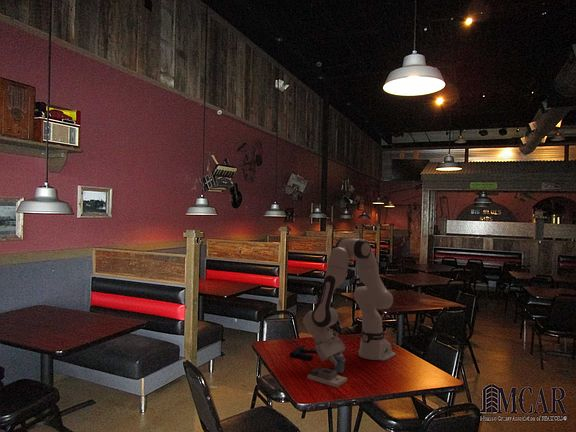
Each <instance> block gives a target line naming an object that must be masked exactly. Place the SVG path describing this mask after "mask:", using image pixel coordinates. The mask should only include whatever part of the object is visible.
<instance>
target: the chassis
mask: <svg viewBox="0 0 576 432" xmlns="http://www.w3.org/2000/svg"><path fill="white" fill-rule="evenodd" d="M306 378H307V380H311V381H314V382H317V383H321V384H324V385H328V386H330V387H334V388H338V387H341V386H342V385H343V384H344V383H347V382H348V377H345V376H342V375H339V374H338V372H337V371H334V369H329V368H326V367H324V368H321V367H315V368H313V369H310V373H309V374H307V377H306Z"/></svg>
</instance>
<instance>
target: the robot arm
mask: <svg viewBox="0 0 576 432" xmlns="http://www.w3.org/2000/svg"><path fill="white" fill-rule="evenodd" d="M334 246H335V247H334V248H333V249H332V250H331V252H330V255H329V258H328V262H327V266H326V271H325V276H324V278H323V283H322V286H321V289H320V293H319V297H318V300H317V303H316V306H315V307H314V309H313V310H309V311H308V312H306V313H305V314H304V316H303V320H302V321H303V324H304V327H305V328H306V329H307V331H308V332H309V334H310V335H311V336H312V338H313V340H314V342H315V343H314V348H315V350H316V351H317V353H318V354H317V353H316V354H317V356H318V357H319V359H320V360H321V361H323V362H324V361H326V360H329V361H330V362H332V363H333V364H335V365H337V364H339V362H338V361H337V360H335V359H334V356H336V355H340V354H342V355H343V356H344V354H343V352H344V351H345V350H346V346H345V343H343V341H342V340H341V338H339V337H338V336H339V334H338V333H336V332H332V331H329V329H328V328H330V327H331V326H334V325H335V324H337V322H338V319H339V313H338V311H337V310H336V308H334V307H331V303H332V300H333V297H334V292H335V290H336V289H337V287H339V286H340V285H342V284H343V283H344V282H345V280H346V278H347V275H348V274H347V273H348V270H349V263H350V260H351V259H355V260H356V266H357V272H358V277H359V280H360V282H361V283H362V284H363V285H364V286H363V285H362V286H357V287H356V288H355V289H354V292H353V298H354V301H355V302H356V303H357V305H358V307H359V310H360V314H361V319H362V321H361V323H362V325H361V326H362V327H361V328H362V329H361V339H360V344H359V349H358V356H359V357H360V358H363V359H366V360H371V361H387V360H389V359H391V358H393V357H395V356H396V355H397V353H396V352H394V351H393V349H392V344H391V342H389V341H388V339H386V338H385V337H386V336H387V335H388V332H387V331H383V317H382V315H380V314H379V312H378V310H377V309H379V310H387V309H390V308H391V307H392V306H393V304H394V296H393V294H392V292H390V291H389V289H387V288H386V286H385V285H384V282H383V281H382V279H381V277H380V272H379V269H378V263H377V262H378V261H377V259H376V255H375V253H374V249H373V248H372V246H371V244H370V242H369V241H368V240H366V239H364V238H357V237H356V238H355V237H352V238H345V237H343V238H340V239H338V240H337V242H336V244H335V245H334Z"/></svg>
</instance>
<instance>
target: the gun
mask: <svg viewBox="0 0 576 432" xmlns="http://www.w3.org/2000/svg"><path fill="white" fill-rule="evenodd" d="M305 346H306V345H305V344H302V345H301V346H298V347H296V348H295V349H294V350H293V351H291V352H290V353H289V356H290V357H291V358H297V359H298V358H299V359H300V360H304V361H307V362H311V361H312V360H313V359H314V356H313V355H312V354H317V355H318V353H317V351H316V349H307V348H306V349H305Z"/></svg>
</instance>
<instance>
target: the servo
mask: <svg viewBox="0 0 576 432" xmlns="http://www.w3.org/2000/svg"><path fill="white" fill-rule="evenodd" d="M342 354H343V353H342ZM342 354H340V355H335V356H333V357H334V359H335V360H337V361H338V362H339V364H337V365H335V364H334V363H333V364H334V365H333V370H334V371H337V374H338V373H340V374H342V373H344V372H345V362H346V361H347V359H346V358H345V356H344V354H343V355H342Z"/></svg>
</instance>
